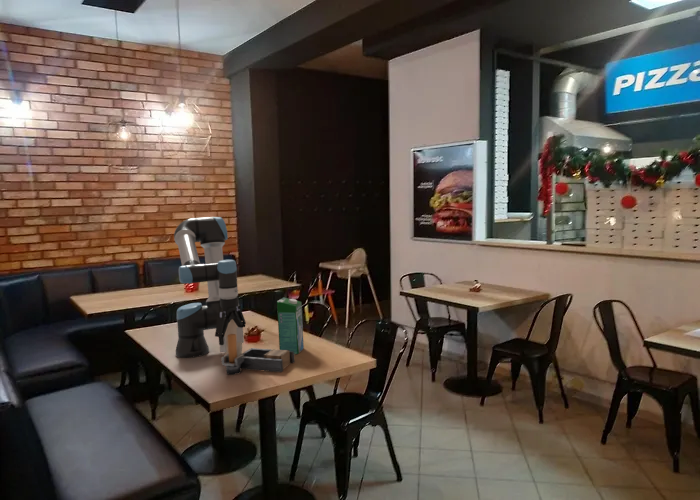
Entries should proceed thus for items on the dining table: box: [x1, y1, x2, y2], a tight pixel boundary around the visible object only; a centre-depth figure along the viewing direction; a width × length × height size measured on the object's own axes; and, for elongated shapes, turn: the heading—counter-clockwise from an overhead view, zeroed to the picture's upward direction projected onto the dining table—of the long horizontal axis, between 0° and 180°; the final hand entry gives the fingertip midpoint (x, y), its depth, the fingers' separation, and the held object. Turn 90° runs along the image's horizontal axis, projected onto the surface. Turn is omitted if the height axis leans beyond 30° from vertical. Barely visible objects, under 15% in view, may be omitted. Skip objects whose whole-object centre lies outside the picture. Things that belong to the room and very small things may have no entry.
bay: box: [237, 347, 296, 373], centre depth 226 cm, size 21×13×5 cm, turn 71°
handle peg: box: [228, 334, 237, 363], centre depth 218 cm, size 3×3×12 cm
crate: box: [264, 348, 291, 370], centre depth 224 cm, size 8×8×6 cm
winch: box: [221, 354, 244, 376], centre depth 219 cm, size 7×8×7 cm
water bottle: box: [224, 319, 243, 356], centre depth 236 cm, size 10×9×28 cm
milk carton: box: [276, 297, 305, 355], centre depth 244 cm, size 9×9×25 cm
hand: (232, 347), depth 218 cm, fingers open, 13 cm apart
